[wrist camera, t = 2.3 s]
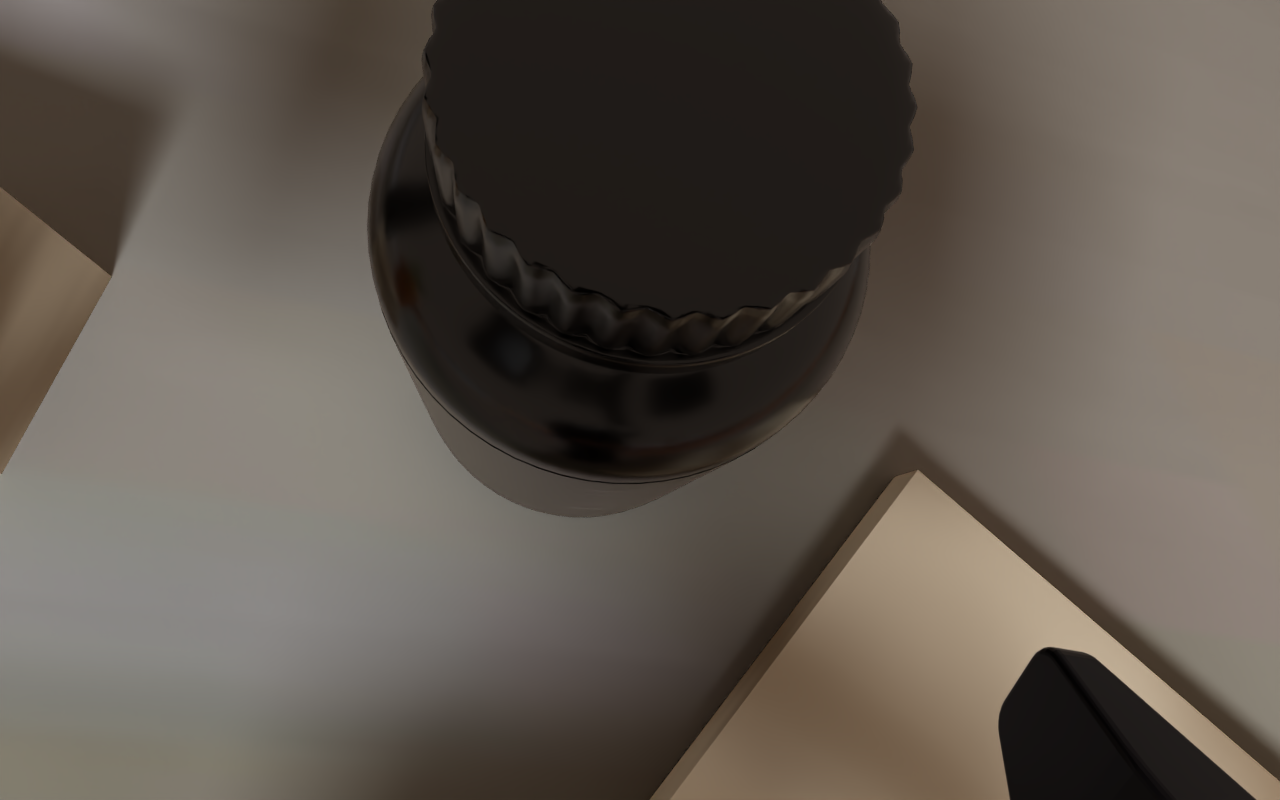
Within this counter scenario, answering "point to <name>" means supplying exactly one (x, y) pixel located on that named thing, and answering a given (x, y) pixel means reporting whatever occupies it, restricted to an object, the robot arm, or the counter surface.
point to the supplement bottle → (633, 230)
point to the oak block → (37, 313)
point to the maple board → (910, 671)
